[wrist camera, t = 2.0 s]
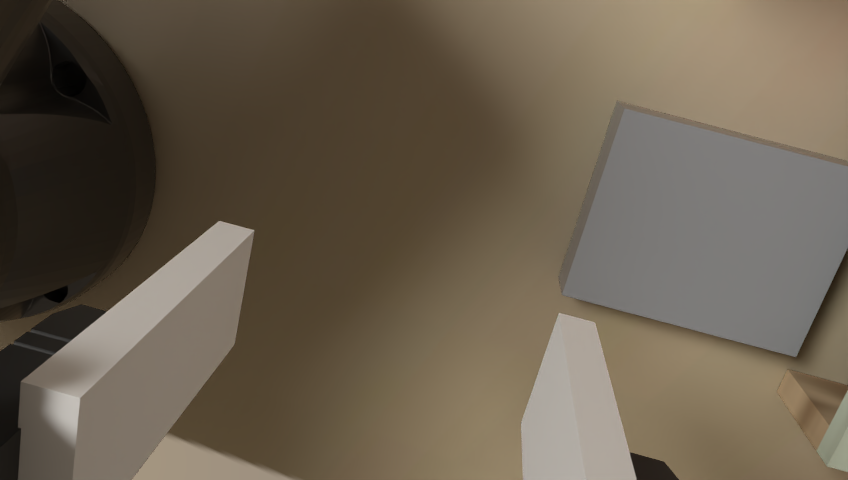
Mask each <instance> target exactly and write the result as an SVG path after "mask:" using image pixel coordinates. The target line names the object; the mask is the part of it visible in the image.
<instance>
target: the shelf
mask: <svg viewBox="0 0 848 480" xmlns="http://www.w3.org/2000/svg"><path fill="white" fill-rule="evenodd" d="M777 393H778V394H779V396H780V397H781V399H782V400H783V402H784V403H785V405H786V406H787V408H788V409H789V411H790V412H791V414H792V415H793V417H794V418H795V420H796V421H797V423H798V424H799V426H800V427H801V429H802V430H803V432H804V433H805V435H806V436H807V438H808V439H809V441H810V442H811V444H812V445H813V447H814V448H815V450H816V451H817V453H818V454H819V456H820V457H821V458H822V460H823V461H824V463H825V464H826V466H827V467H831V468H835V469H838V470H842V471H845V472H848V385H844V384H840V383H837V382H833V381H829V380H826V379H822V378H818V377H815V376H811V375H807V374H803V373H800V372H796V371H792V370H789V369H788V370H787V372H786V374H785V376H784V378H783V380H782V382H781V384H780V386H779V388H778V390H777Z"/></svg>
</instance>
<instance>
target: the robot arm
mask: <svg viewBox="0 0 848 480" xmlns="http://www.w3.org/2000/svg"><path fill="white" fill-rule="evenodd" d="M154 188H155V155H154V147H153V141H152V136H151V131H150V127H149V124H148V120H147V117H146V114H145V111H144V108H143V105H142V103H141V100H140V98H139V96H138V93H137V91H136V89H135V87H134V85H133V83H132V81H131V79H130V78H129V76H128V74H127V73H126V71H125V69H124V68H123V66H122V64H121V63H120V62H119V60H118V59H117V57H116V56H115V54H114V53H113V52H112V50H111V49H110V48H109V47H108V45H107V44H106V43H105V42H104V41H103V40H102V38H101V37H100V36H99V35H98V34H97V33H96V32H95V31H94V30H93V29H92V28H91V27H90V26H89V25H88V24H87V23H86V22H85V21H84V20H83V19H81V18H80V17H79V16H78V15H77V14H76V13H74V12H73V11H72V10H70V9H69V8H68V7H66V6H65V5H64V4H62V3H61V2H59V1H58V0H0V322H3V321H8V320H14V319H19V318H24V317H29V316H33V315H38V314H41V313H44V312H48V311H50V310H53V309H55V308H58V307H60V306H62V305H64V304H66V303H68V302H71V301H72V300H74V299H76V298H77V297H79V296H81V295H82V294H83V293H85V292H86V291H88V290H89V289H90V288H92V287H93V286H95V285H96V284H97V283H99V282H100V281H102V280H103V279H104V278H106V277H107V276H108V275H110V274H111V273H112V272H113V271H114V270H115V269H117V268H118V267H119V266H120V265H121V263H122V262H123V261H124V260H125V259H126V258H127V256H128V255H129V254H130V253H131V251H132V250H133V248H134V247H135V245H136V244H137V242H138V240H139V238H140V236H141V234H142V232H143V230H144V228H145V225H146V223H147V220H148V217H149V214H150V210H151V206H152V201H153V195H154ZM254 231H255V230H251V229H248V228H244V227H240V226H237V225H233V224H229V223H226V222H222V221H218V222H217V223H216V224H215V225H213V226H212V227H211V228H210V229H208V230H207V231H206V232H205V233H204V234H202V235H201V236H200V237H199V238H197V239H196V240H195V241H194V242H192V243H191V244H190V245H189V246H187V247H186V248H185V249H184V250H183V251H181V252H180V253H179V254H178V255H176V256H175V257H174V258H173V259H171V260H170V261H169V262H168V263H166V264H165V265H164V266H163V267H162V268H160V269H159V270H158V271H157V272H155V273H154V274H153V275H152V276H150V277H149V278H148V279H147V280H145V281H144V282H143V283H142V284H141V285H139V286H138V287H137V288H136V289H134V290H133V291H132V292H131V293H129V294H128V295H127V296H126V297H124V298H123V299H122V300H121V301H120V302H118V303H117V304H116V305H115V306H113V307H112V308H111V309H110V310H108V311H103V310H100V309H96V308H92V307H89V306H85V305H79V306H76V307H72V308H69V309H66V310H63V311H60V312H57V313H54V314H52V315H50V316H49V317H47V318H46V319H45V320H43V321H42V322H40V323H39V324H38V325H36V326H35V327H33V328H32V329H31V332H26V333H25V334H24V335H22V336H21V337H19V338H18V339H17V340H15V341H14V344H13V345H11V344H10V345H8V346H7V347H6V348H4V349H3V350H1V351H0V480H131V479H132V478H133V477H134V476H135V475H136V473H137V472H138V471H139V469H140V468H141V467H142V465H143V464H144V463H145V461H146V460H147V459H148V457H149V456H150V455H151V453H152V452H153V451H154V450H155V448H156V447H157V446H158V444H159V443H160V442H161V440H162V439H163V438H164V437H165V435H166V434H167V433H168V431H169V430H170V429H171V427H172V426H173V425H174V423H175V422H176V421H177V419H178V418H179V417H180V416H181V414H182V413H183V412H184V410H185V409H186V408H187V406H188V405H189V404H190V402H191V401H192V400H193V398H194V397H195V396H196V395H197V393H198V392H199V391H200V389H201V388H202V387H203V385H204V384H205V383H206V381H207V380H208V379H209V378H210V376H211V375H212V374H213V372H214V371H215V370H216V368H217V367H218V366H219V364H220V363H221V362H222V360H223V359H224V358H225V357H226V355H227V354H228V353H229V351H230V350H231V349H232V347H233V346H234V345H235V339H236V334H237V328H238V322H239V316H240V311H241V305H242V299H243V294H244V288H245V282H246V277H247V271H248V265H249V259H250V254H251V248H252V242H253V237H254ZM521 435H522V464H523V480H679V479H678V478H677V477H676V476H675V474H674V473H673V472H672V471H671V470H670V468H669V467H668V466H667V465H666V464H665V462H663V461H660V460H656V459H652V458H649V457H645V456H641V455H638V454H634V453H630V452H629V449H628V445H627V441H626V437H625V434H624V430H623V426H622V422H621V419H620V415H619V411H618V407H617V403H616V400H615V396H614V392H613V388H612V385H611V381H610V377H609V373H608V369H607V366H606V362H605V358H604V354H603V351H602V347H601V343H600V339H599V336H598V332H597V328H596V324H595V322H592V321H588V320H584V319H581V318H577V317H573V316H570V315H566V314H562V313H559V314H558V317H557V320H556V323H555V326H554V329H553V332H552V334H551V337H550V340H549V343H548V346H547V349H546V352H545V355H544V358H543V361H542V364H541V367H540V369H539V372H538V375H537V378H536V381H535V384H534V387H533V390H532V393H531V396H530V399H529V402H528V404H527V407H526V410H525V413H524V416H523V419H522V422H521Z"/></svg>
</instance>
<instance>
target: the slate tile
mask: <svg viewBox="0 0 848 480" xmlns="http://www.w3.org/2000/svg"><path fill="white" fill-rule="evenodd" d="M847 248H848V161H846V160H842V159H838V158H835V157H831V156H827V155H823V154H819V153H815V152H811V151H808V150H804V149H800V148H796V147H792V146H788V145H785V144H781V143H777V142H773V141H769V140H765V139H762V138H758V137H754V136H750V135H746V134H742V133H739V132H735V131H731V130H727V129H723V128H719V127H716V126H712V125H708V124H704V123H700V122H696V121H693V120H689V119H685V118H681V117H677V116H673V115H670V114H666V113H662V112H658V111H654V110H650V109H647V108H643V107H639V106H635V105H631V104H627V103H623V102H620V101H617V102H616V105H615V108H614V111H613V114H612V117H611V120H610V123H609V126H608V129H607V132H606V135H605V138H604V141H603V144H602V147H601V150H600V153H599V156H598V159H597V162H596V165H595V168H594V171H593V174H592V177H591V180H590V183H589V186H588V189H587V192H586V195H585V198H584V201H583V204H582V207H581V210H580V213H579V216H578V219H577V222H576V225H575V228H574V231H573V234H572V237H571V240H570V243H569V246H568V249H567V252H566V255H565V258H564V261H563V264H562V267H561V270H560V273H559V276H558V277H559V283H560V288H561V293H562V295H564V296H567V297H571V298H575V299H579V300H583V301H586V302H590V303H594V304H598V305H601V306H605V307H609V308H613V309H616V310H620V311H624V312H628V313H631V314H635V315H639V316H643V317H646V318H650V319H654V320H658V321H661V322H665V323H669V324H673V325H676V326H680V327H684V328H688V329H692V330H695V331H699V332H703V333H707V334H710V335H714V336H718V337H722V338H725V339H729V340H733V341H737V342H740V343H744V344H748V345H752V346H755V347H759V348H763V349H767V350H770V351H774V352H778V353H782V354H785V355H789V356H793V357H796V356H797V354H798V352H799V350H800V348H801V346H802V343H803V341H804V339H805V337H806V335H807V333H808V331H809V329H810V327H811V324H812V322H813V320H814V318H815V316H816V314H817V312H818V310H819V308H820V305H821V303H822V301H823V299H824V297H825V295H826V293H827V291H828V288H829V286H830V284H831V282H832V280H833V278H834V276H835V274H836V272H837V269H838V267H839V265H840V263H841V261H842V259H843V257H844V255H845V253H846V250H847Z"/></svg>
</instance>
